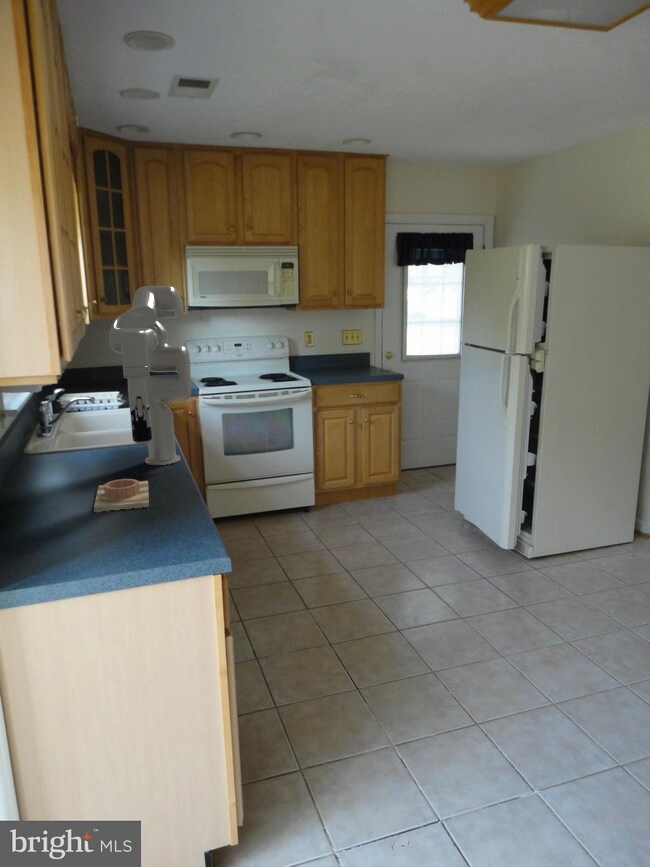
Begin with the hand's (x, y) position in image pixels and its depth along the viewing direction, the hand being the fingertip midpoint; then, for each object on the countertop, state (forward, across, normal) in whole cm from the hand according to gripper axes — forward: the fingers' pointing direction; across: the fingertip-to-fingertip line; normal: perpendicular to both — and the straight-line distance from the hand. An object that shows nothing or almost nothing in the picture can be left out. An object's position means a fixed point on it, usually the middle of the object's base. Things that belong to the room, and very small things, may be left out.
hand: (141, 430), depth 192 cm
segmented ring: (+18, +3, -7) cm, 20 cm away
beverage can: (+4, 0, 0) cm, 4 cm away
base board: (+20, +3, -7) cm, 21 cm away
